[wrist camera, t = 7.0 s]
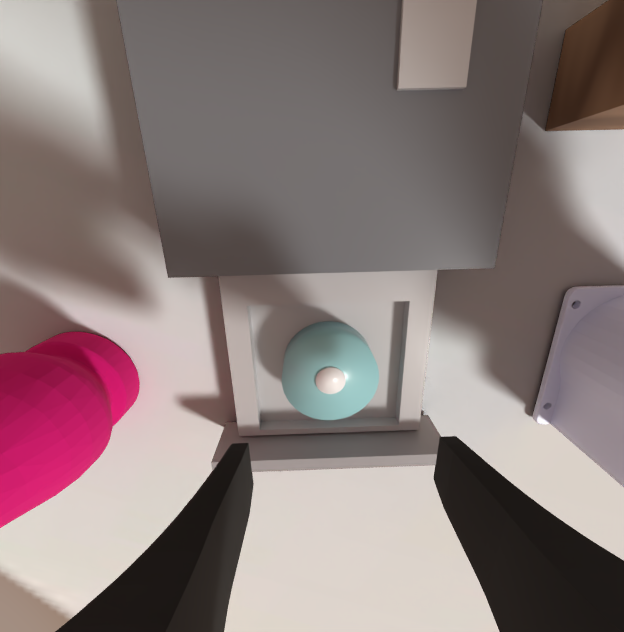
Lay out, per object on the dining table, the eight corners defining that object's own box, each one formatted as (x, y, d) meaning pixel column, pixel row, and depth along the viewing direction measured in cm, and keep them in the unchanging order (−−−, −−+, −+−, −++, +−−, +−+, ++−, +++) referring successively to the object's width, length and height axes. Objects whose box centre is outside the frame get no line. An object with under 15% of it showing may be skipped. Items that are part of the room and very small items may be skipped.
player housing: (449, 254, 17) (497, 268, 13) (200, 261, 17) (166, 278, 12) (494, -93, 12) (592, -249, 8) (148, -88, 12) (66, -246, 8)
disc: (364, 400, 19) (372, 423, 17) (282, 396, 19) (279, 419, 17) (377, 324, 17) (386, 339, 15) (285, 318, 17) (283, 333, 15)
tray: (426, 428, 21) (448, 468, 17) (228, 435, 20) (214, 477, 17) (452, 219, 16) (489, 221, 13) (197, 226, 16) (170, 230, 13)
